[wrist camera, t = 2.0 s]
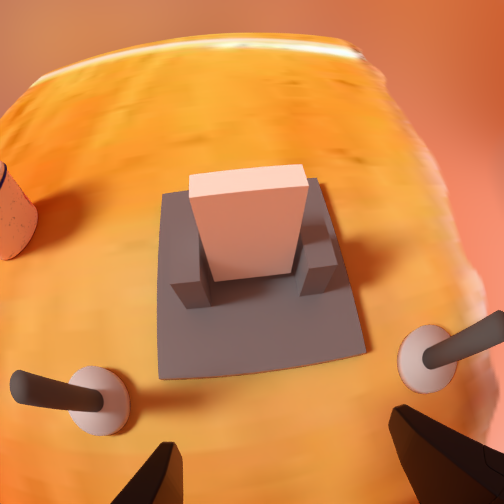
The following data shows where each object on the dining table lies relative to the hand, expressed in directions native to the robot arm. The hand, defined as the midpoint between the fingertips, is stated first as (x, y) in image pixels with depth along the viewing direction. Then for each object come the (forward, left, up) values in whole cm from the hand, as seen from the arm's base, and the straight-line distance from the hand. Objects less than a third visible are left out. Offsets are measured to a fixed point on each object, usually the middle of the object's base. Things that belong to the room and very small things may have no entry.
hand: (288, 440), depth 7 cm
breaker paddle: (+12, -2, -12) cm, 17 cm away
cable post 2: (-1, -14, -14) cm, 20 cm away
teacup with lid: (+27, +27, -14) cm, 40 cm away
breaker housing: (+13, -2, -14) cm, 19 cm away
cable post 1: (+4, +13, -14) cm, 20 cm away
